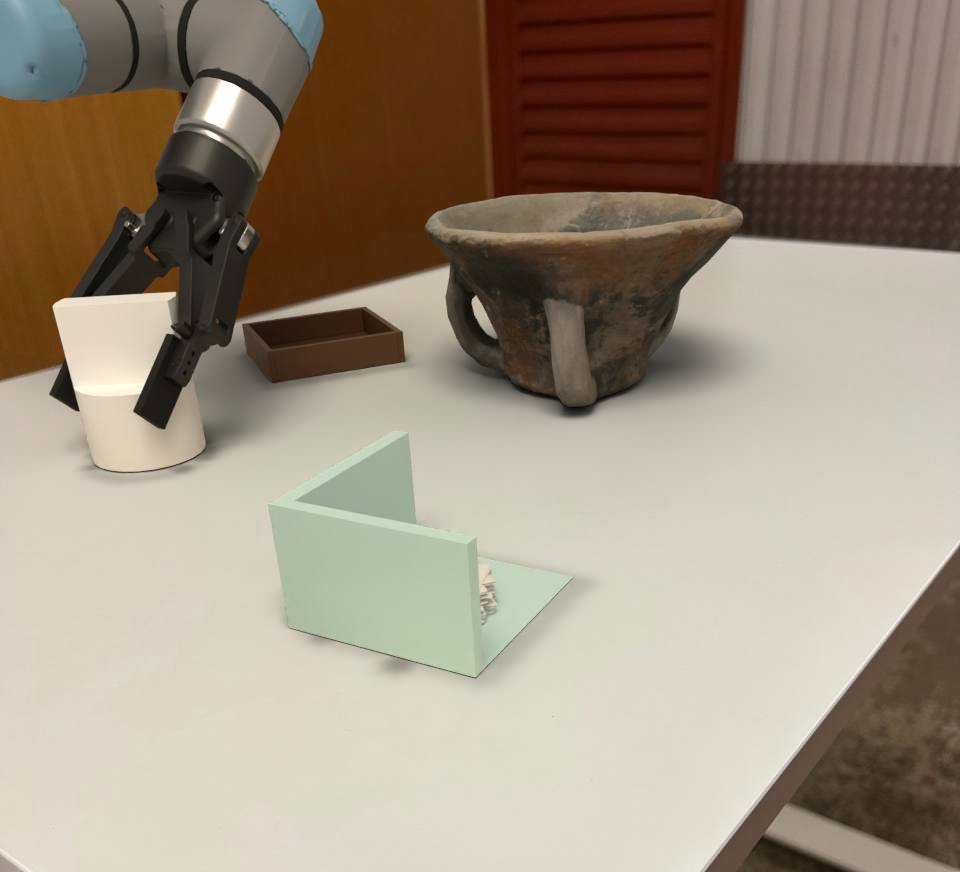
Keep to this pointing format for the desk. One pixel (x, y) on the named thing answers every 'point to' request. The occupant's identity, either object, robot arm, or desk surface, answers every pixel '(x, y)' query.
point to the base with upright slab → (125, 379)
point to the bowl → (575, 282)
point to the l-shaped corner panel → (396, 568)
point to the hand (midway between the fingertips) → (106, 411)
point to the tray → (322, 343)
